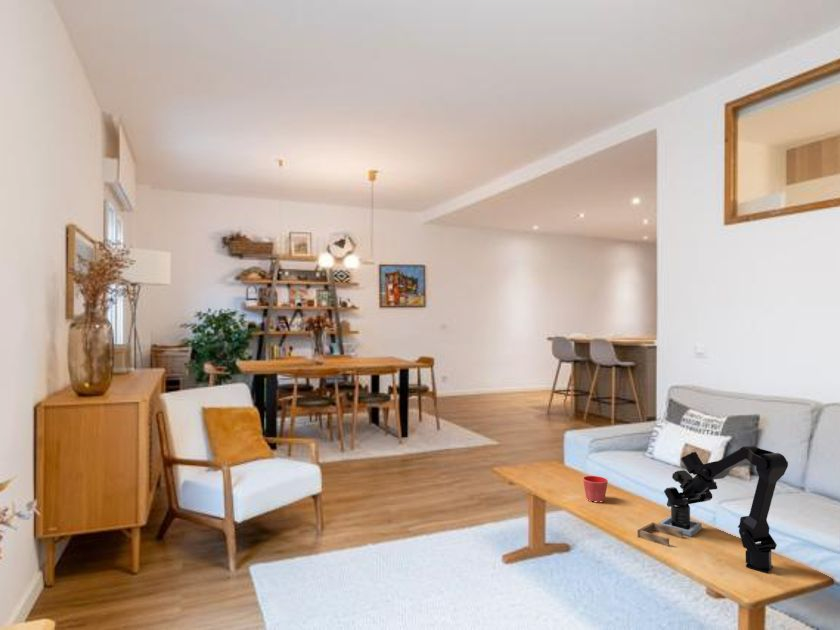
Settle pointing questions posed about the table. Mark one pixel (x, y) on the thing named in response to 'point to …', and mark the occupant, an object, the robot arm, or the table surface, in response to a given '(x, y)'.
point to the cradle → (661, 528)
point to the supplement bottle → (681, 515)
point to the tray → (689, 533)
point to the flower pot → (595, 488)
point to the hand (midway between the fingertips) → (677, 504)
